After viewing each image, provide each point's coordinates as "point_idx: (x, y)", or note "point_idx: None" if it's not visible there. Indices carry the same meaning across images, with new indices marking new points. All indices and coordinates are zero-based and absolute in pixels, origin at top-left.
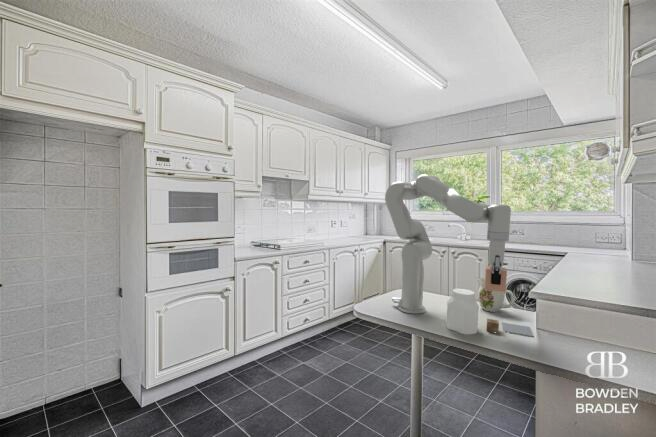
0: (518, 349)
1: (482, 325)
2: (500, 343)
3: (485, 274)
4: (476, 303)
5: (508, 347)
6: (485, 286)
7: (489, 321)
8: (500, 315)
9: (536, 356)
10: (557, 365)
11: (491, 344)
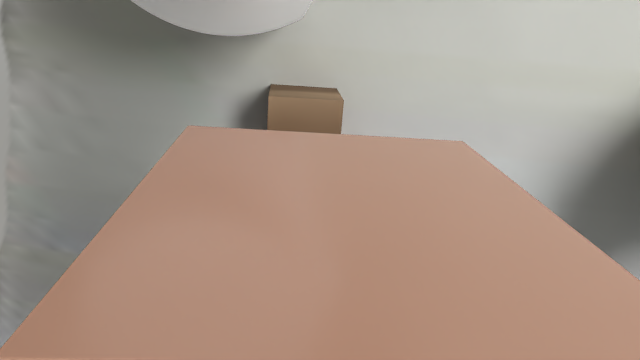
0: (89, 219)
1: (374, 67)
2: (118, 143)
3: (341, 224)
4: (185, 7)
5: (85, 176)
6: (175, 145)
7: (284, 112)
8: (604, 194)
9: (52, 281)
10: (6, 340)
11: (71, 92)
